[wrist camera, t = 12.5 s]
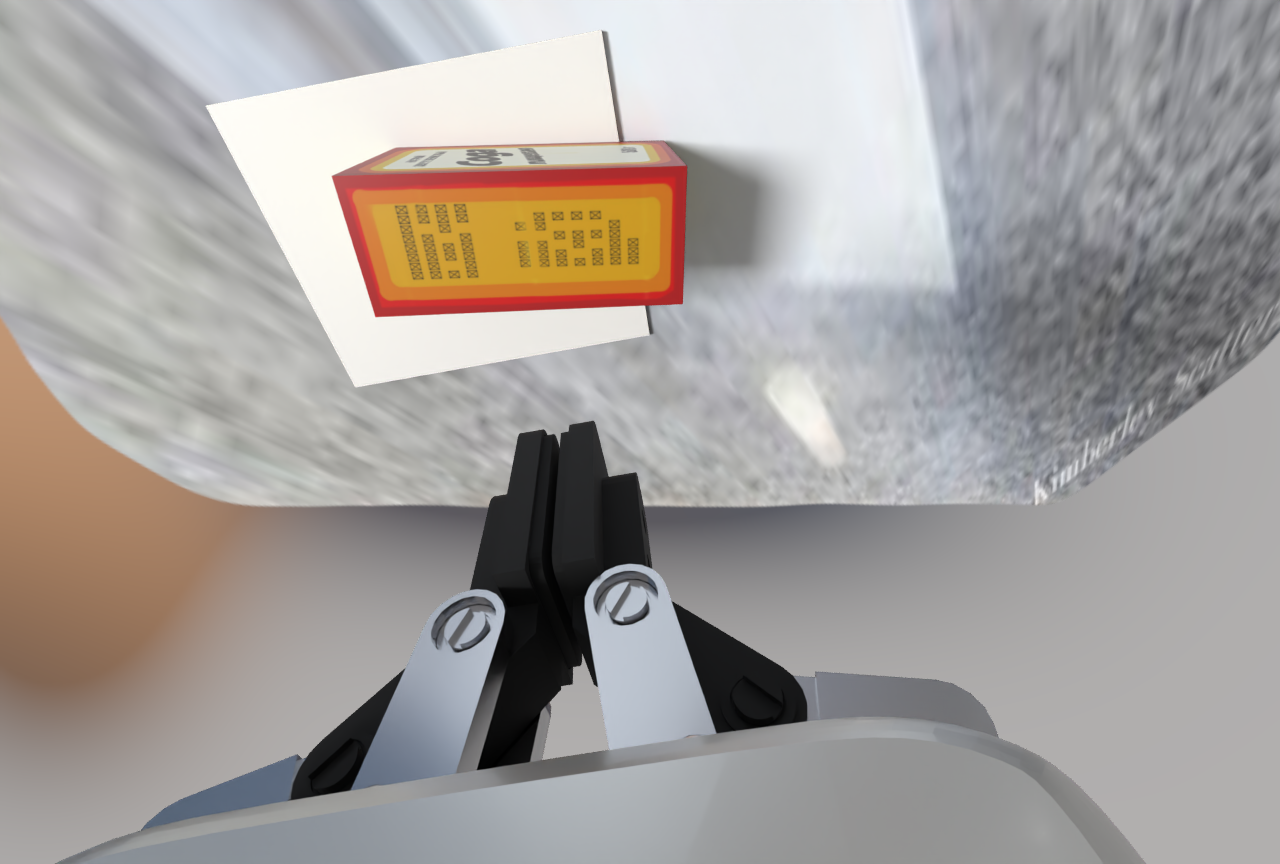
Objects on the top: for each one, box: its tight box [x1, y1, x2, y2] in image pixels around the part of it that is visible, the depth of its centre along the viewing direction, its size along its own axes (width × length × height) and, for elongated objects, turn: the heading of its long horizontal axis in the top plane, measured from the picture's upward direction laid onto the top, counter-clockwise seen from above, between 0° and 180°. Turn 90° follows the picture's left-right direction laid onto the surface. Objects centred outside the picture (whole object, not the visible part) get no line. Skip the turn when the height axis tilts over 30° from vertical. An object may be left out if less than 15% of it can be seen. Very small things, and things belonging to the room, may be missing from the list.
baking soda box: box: [332, 141, 687, 317], centre depth 30 cm, size 10×6×16 cm
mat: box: [206, 30, 650, 387], centre depth 34 cm, size 22×18×1 cm
